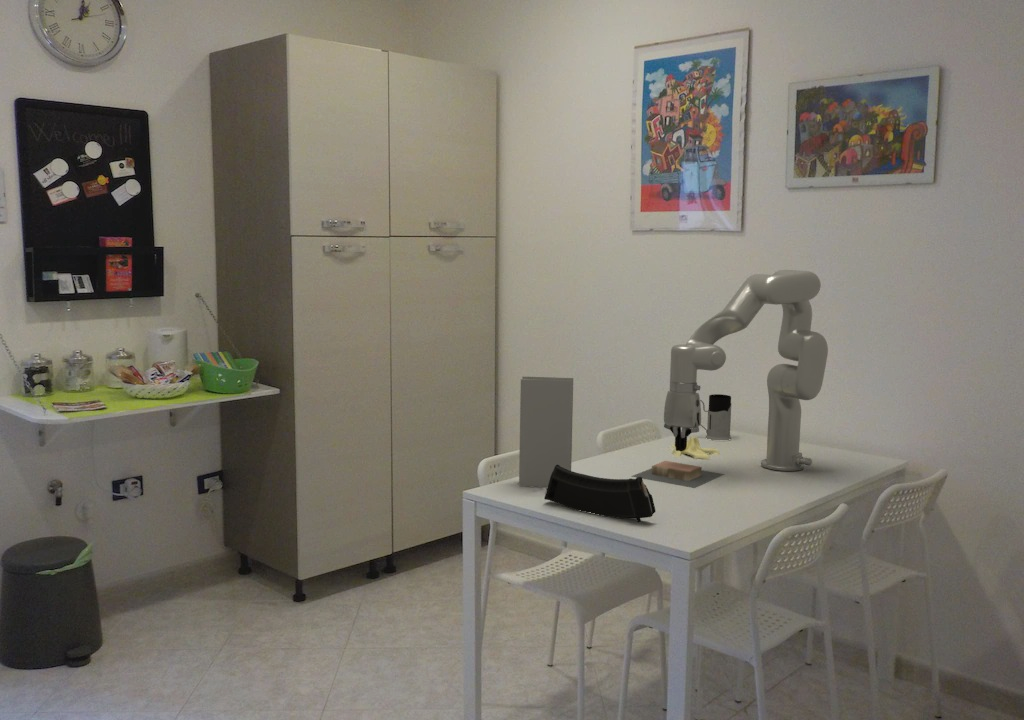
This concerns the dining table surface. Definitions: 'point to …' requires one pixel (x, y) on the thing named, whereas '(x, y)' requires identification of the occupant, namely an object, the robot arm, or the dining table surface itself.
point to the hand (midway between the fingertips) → (680, 450)
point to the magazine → (600, 494)
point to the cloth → (695, 450)
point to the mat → (693, 483)
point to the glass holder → (718, 417)
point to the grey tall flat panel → (544, 428)
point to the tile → (676, 470)
